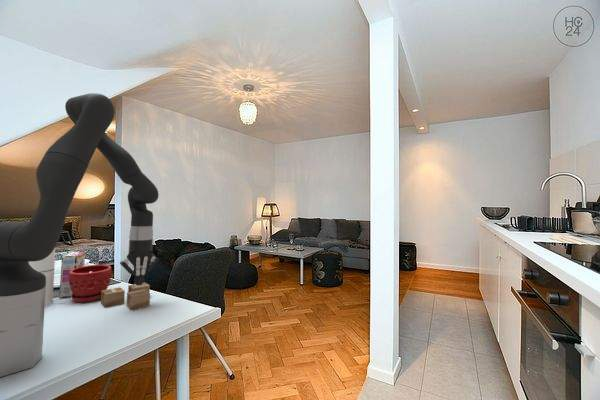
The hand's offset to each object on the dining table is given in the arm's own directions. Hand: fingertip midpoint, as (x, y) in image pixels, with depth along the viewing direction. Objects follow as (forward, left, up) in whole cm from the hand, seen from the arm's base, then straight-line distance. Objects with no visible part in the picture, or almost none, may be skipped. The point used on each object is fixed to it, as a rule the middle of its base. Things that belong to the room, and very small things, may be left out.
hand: (139, 285), depth 97 cm
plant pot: (+21, +11, -8) cm, 25 cm away
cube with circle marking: (+10, -3, -8) cm, 13 cm away
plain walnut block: (0, 0, -8) cm, 8 cm away
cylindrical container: (+25, +25, -8) cm, 36 cm away
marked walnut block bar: (+9, +6, -8) cm, 14 cm away
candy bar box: (+33, +15, -8) cm, 37 cm away
